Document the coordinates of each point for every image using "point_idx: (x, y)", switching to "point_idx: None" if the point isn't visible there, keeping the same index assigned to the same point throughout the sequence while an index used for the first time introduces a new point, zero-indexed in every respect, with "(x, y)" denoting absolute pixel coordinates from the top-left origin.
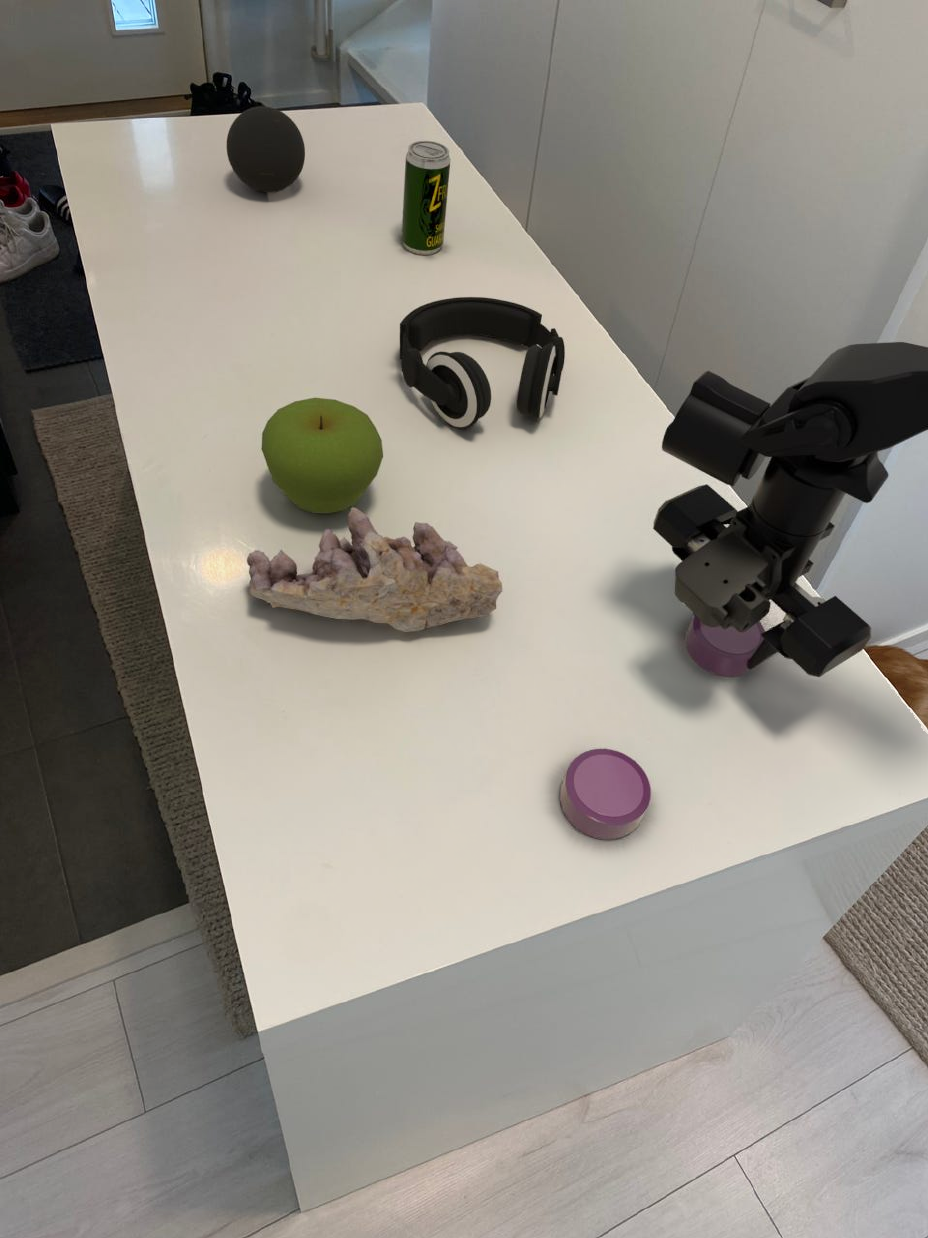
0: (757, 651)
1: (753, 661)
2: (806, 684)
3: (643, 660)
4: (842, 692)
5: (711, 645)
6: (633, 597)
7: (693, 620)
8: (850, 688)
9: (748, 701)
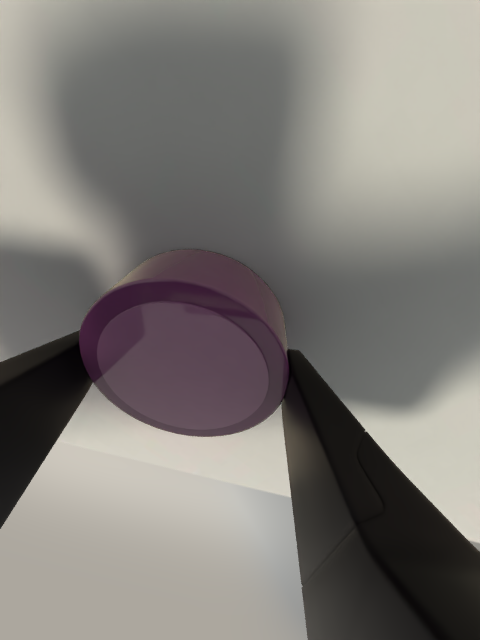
0: (5, 378)
1: (57, 345)
2: None
3: (303, 93)
4: None
5: (161, 299)
6: (465, 282)
7: (271, 331)
8: None
9: (48, 265)
